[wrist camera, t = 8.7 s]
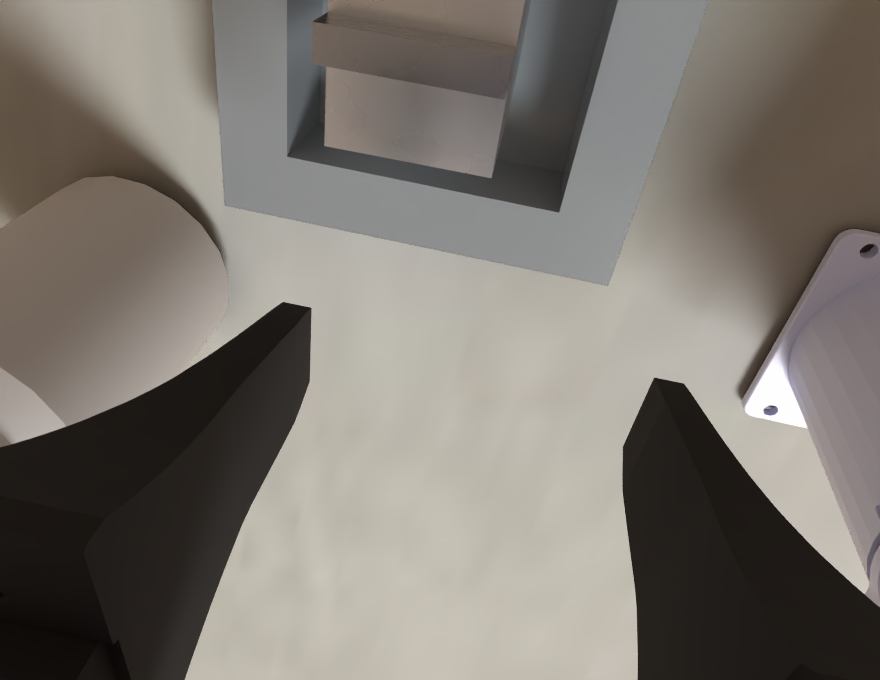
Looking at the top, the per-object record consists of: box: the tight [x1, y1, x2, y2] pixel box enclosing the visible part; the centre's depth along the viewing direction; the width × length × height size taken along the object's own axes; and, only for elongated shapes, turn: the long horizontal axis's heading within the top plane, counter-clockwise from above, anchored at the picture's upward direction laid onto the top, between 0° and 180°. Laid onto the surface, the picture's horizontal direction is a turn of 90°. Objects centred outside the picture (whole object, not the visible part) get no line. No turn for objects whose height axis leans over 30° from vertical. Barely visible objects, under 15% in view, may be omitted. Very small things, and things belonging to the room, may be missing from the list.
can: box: [0, 176, 229, 447], centre depth 22 cm, size 8×8×12 cm
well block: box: [212, 0, 709, 286], centre depth 18 cm, size 12×12×4 cm
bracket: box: [312, 0, 531, 178], centre depth 16 cm, size 4×5×7 cm
